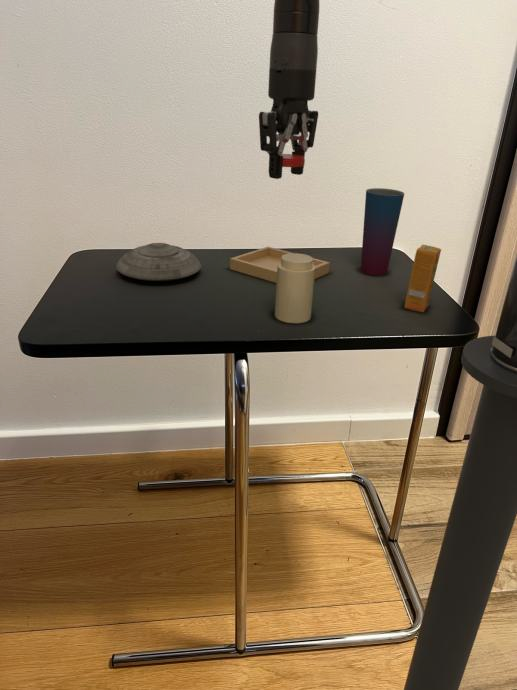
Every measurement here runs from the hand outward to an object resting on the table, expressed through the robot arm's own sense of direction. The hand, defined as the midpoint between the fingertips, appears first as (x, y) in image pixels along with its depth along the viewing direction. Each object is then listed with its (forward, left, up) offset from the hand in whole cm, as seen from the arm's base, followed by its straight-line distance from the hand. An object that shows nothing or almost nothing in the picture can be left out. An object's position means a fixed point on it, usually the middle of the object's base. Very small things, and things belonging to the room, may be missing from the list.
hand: (286, 175), depth 94 cm
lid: (0, 0, +3) cm, 3 cm away
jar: (-14, +16, -17) cm, 27 cm away
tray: (0, 0, -17) cm, 17 cm away
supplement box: (-27, -1, -18) cm, 32 cm away
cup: (-13, -13, -18) cm, 25 cm away
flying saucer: (+15, +16, -18) cm, 28 cm away
